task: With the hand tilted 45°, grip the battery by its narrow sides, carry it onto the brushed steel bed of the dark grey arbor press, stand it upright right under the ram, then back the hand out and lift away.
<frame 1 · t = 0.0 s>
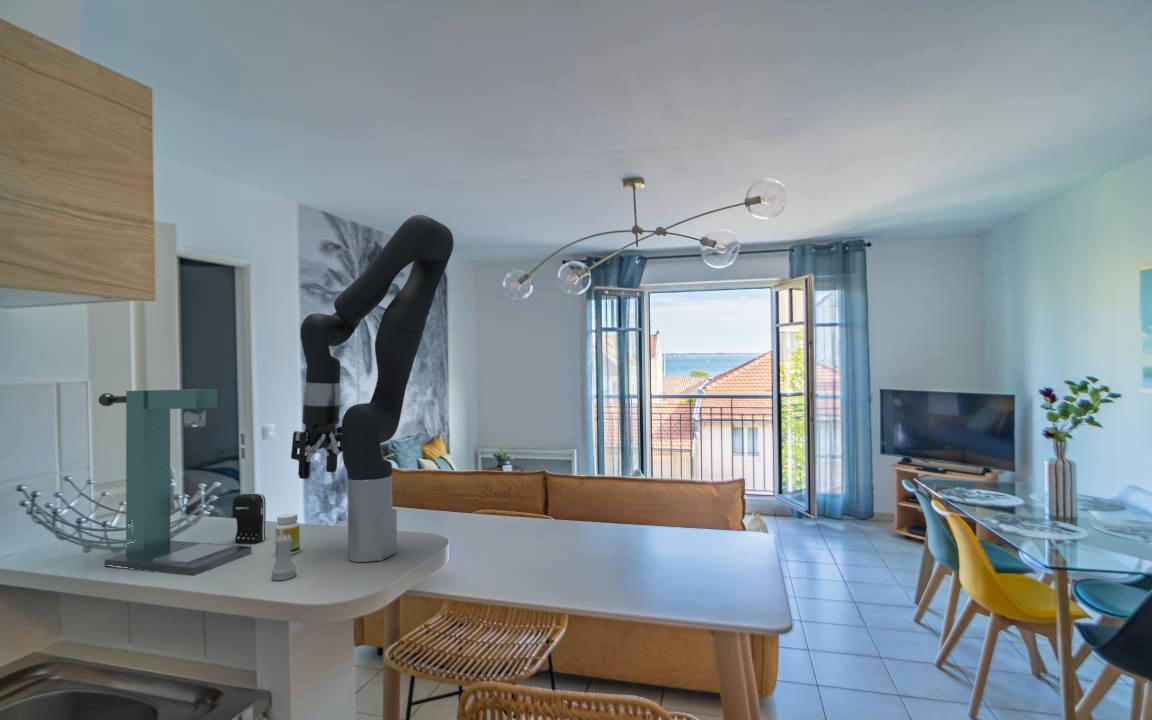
hand: (318, 475, 126), 17 cm above the counter, tool pointing down, fingers open, 8 cm apart
rook chess piece: (283, 578, 110), on the counter
supplement bottle: (287, 553, 125), on the counter
battery: (248, 542, 134), on the counter
arbor press: (194, 561, 121), on the counter
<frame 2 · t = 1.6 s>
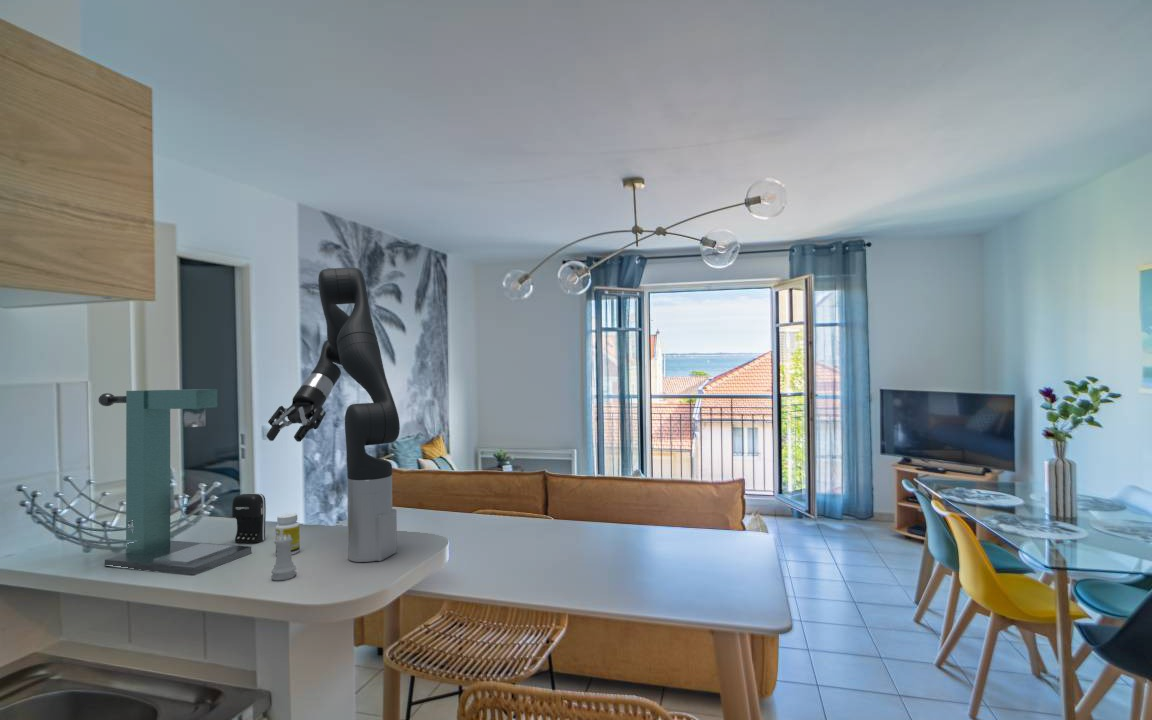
hand: (283, 439, 146), 23 cm above the counter, tool tilted 45°, fingers open, 8 cm apart
nothing on the counter moved.
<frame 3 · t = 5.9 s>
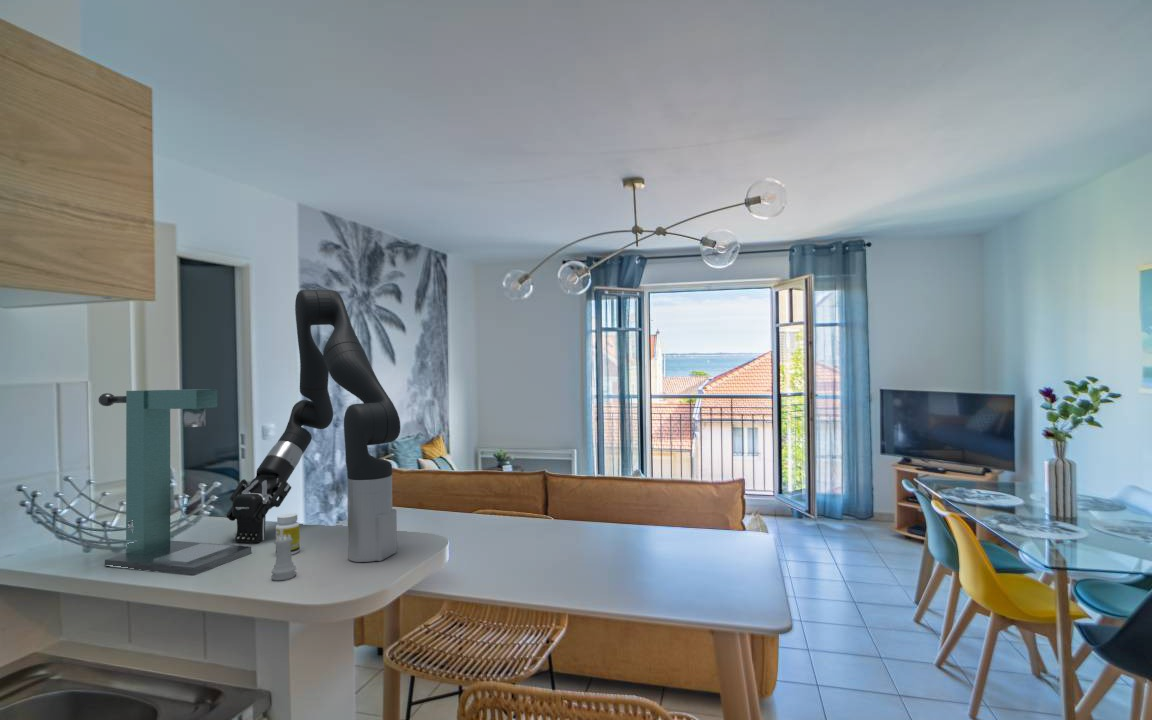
hand: (242, 519, 133), 6 cm above the counter, tool tilted 45°, fingers closed on battery, 7 cm apart
battery: (248, 542, 134), on the counter, touching gripper
everything else where it was.
when the fingers open (8 cm above the counter, at t = 11.7 s): battery stays where it is, resting on arbor press.
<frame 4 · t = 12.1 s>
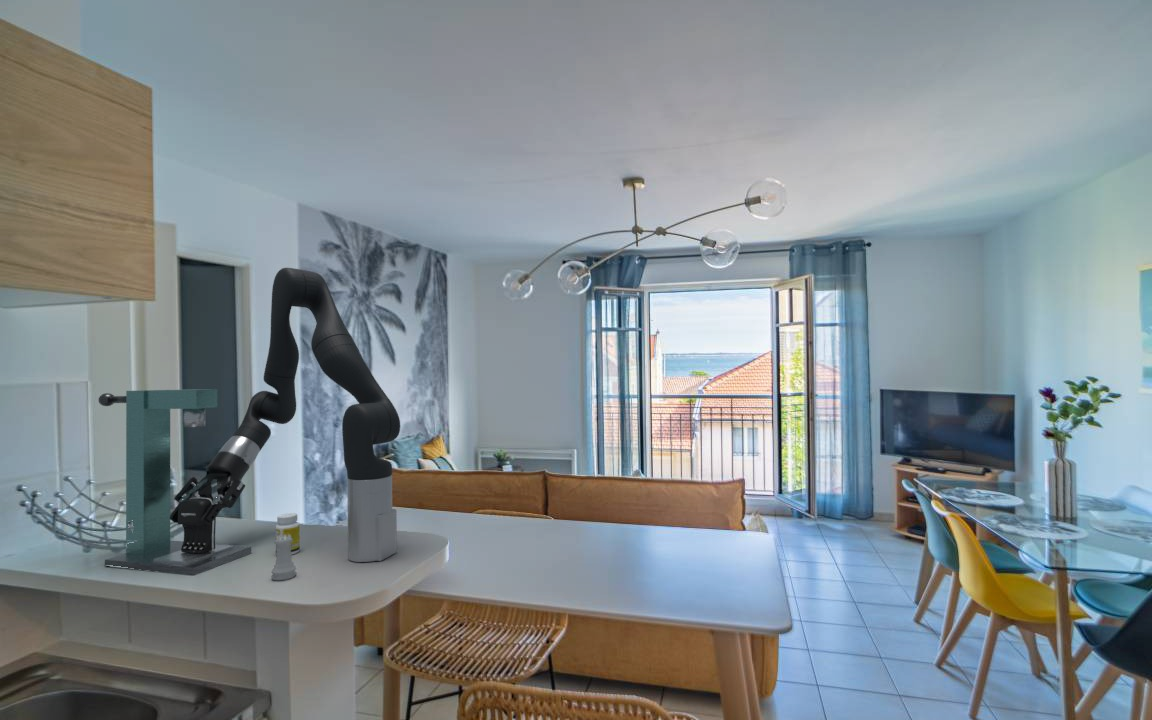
hand: (188, 521, 120), 9 cm above the counter, tool tilted 45°, fingers open, 8 cm apart
battery: (195, 552, 121), point 2 cm above the counter, touching arbor press
everything else where it was.
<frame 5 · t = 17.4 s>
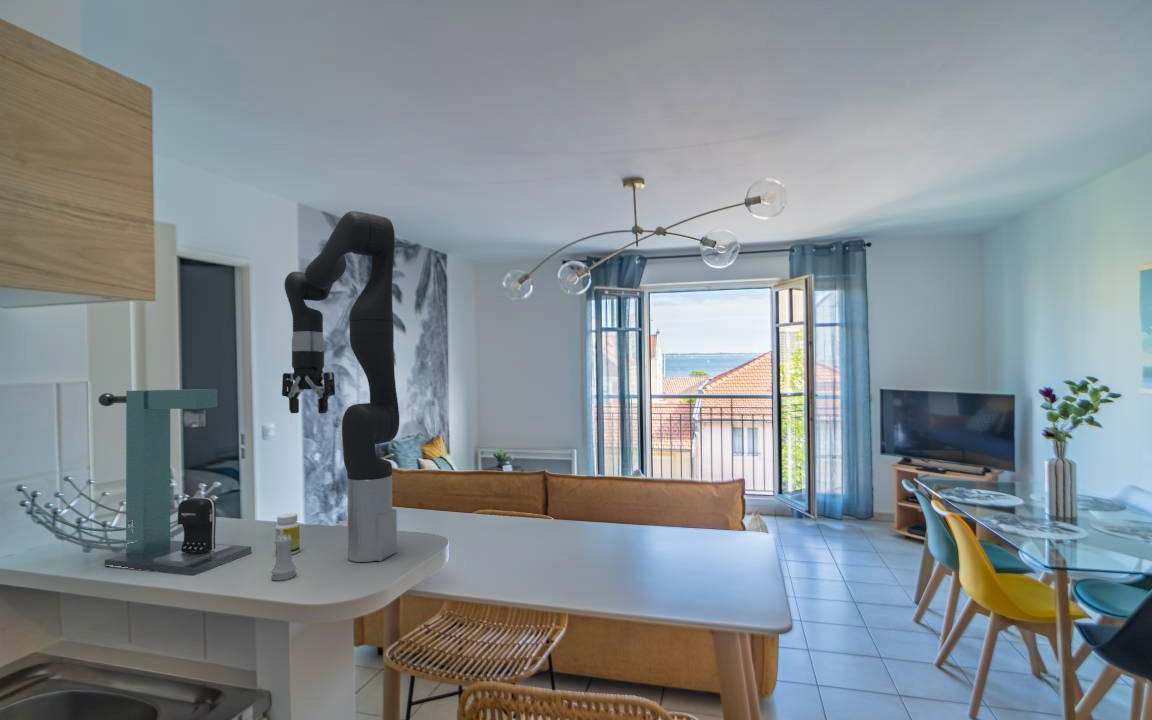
hand: (308, 413, 143), 30 cm above the counter, tool pointing down, fingers open, 8 cm apart
nothing on the counter moved.
at the end: battery 0.3 cm off-centre on the arbor press, point 1.7 cm above the arbor press's base; battery tilted 0°; the gripper is holding nothing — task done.
